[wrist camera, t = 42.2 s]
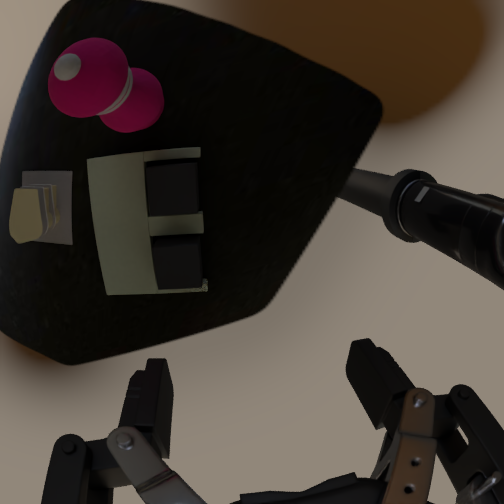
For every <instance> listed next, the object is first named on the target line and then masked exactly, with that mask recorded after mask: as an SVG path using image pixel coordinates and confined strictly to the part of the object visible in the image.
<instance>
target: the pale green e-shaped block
mask: <svg viewBox="0 0 504 504" xmlns="http://www.w3.org/2000/svg"><path fill="white" fill-rule="evenodd" d="M200 156H201V153H200V147H192V148H177V149H165V150H154V151H144V152H135V153H127V154H119V155H112V156H105V157H99V158H92V159H87V166H88V179H89V190H90V200H91V208H92V216H93V223H94V230H95V237H96V243H97V248H98V254H99V259H100V265H101V270H102V274H103V279H104V284H105V288H106V292H107V295H121V294H154V293H179V292H200V291H208V284H207V278H203V281H202V288H188V289H168V290H158V285H157V279H156V273H155V266H154V259H153V252H152V247H153V237H152V236H160V235H177V234H194V233H203V232H204V226H203V211H198V213H191V214H176V215H163V216H150V212H149V202H148V190H147V177H146V168H147V163H146V161H156V160H168V159H181V158H197V157H200Z"/></svg>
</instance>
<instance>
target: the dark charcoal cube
mask: <svg viewBox="0 0 504 504" xmlns="http://www.w3.org/2000/svg"><path fill="white" fill-rule="evenodd" d="M146 177H147V190H148V202H149V212H150V216H163V215H176V214H191V213H198V210H199V188H198V167H197V162H191V163H178V164H166V165H155V166H151V167H147V168H146Z"/></svg>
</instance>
